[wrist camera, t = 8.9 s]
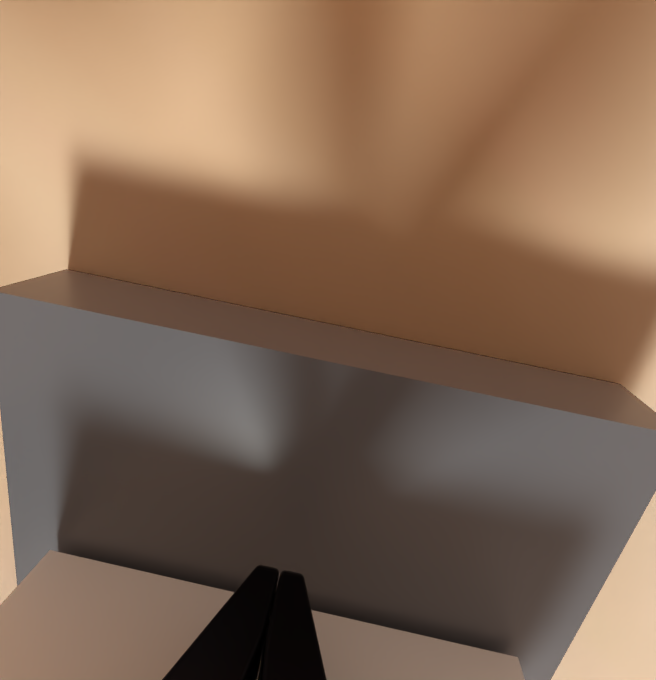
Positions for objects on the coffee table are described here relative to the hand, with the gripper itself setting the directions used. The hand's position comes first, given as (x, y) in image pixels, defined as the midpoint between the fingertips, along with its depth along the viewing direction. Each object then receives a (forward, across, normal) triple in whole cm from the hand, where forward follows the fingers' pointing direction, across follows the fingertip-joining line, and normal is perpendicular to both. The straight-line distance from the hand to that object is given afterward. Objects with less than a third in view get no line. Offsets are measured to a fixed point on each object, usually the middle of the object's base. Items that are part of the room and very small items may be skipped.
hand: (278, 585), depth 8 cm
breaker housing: (+3, 0, +2) cm, 3 cm away
